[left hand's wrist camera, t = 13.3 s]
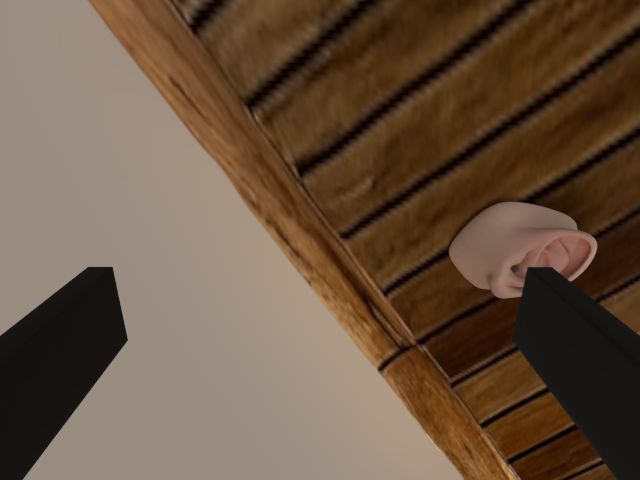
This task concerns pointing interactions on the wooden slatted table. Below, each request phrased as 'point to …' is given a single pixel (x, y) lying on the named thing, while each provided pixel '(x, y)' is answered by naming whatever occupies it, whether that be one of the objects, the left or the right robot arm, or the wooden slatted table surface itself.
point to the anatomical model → (519, 246)
